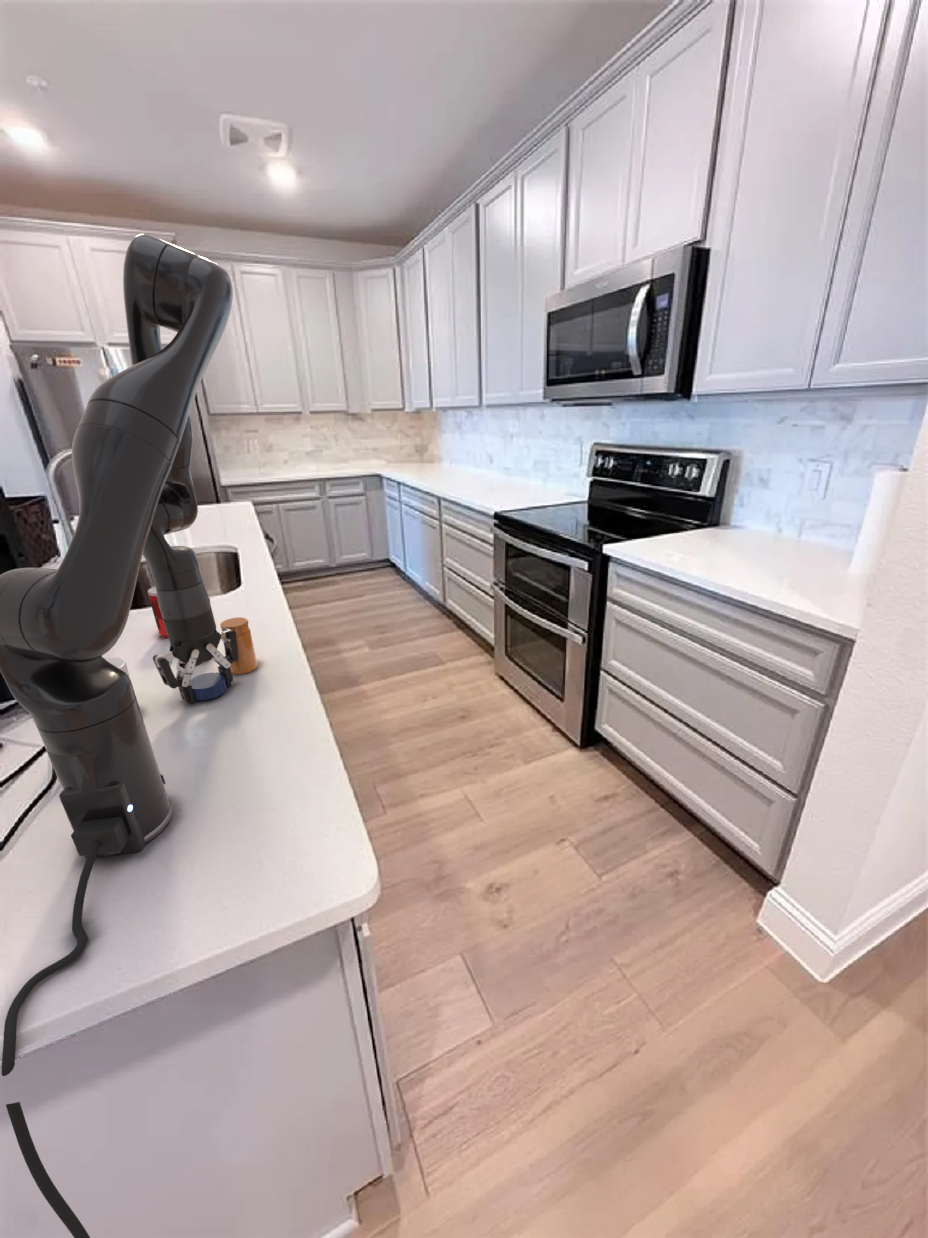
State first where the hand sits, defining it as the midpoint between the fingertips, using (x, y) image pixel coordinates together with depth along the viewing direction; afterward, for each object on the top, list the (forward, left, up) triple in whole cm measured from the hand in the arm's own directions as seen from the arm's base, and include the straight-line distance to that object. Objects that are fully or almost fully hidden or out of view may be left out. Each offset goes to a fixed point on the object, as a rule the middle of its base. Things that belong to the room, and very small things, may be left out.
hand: (209, 693), depth 92 cm
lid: (0, 0, +2) cm, 2 cm away
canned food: (+31, +15, 0) cm, 34 cm away
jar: (+9, -4, 0) cm, 10 cm away
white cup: (-6, +13, 0) cm, 15 cm away
